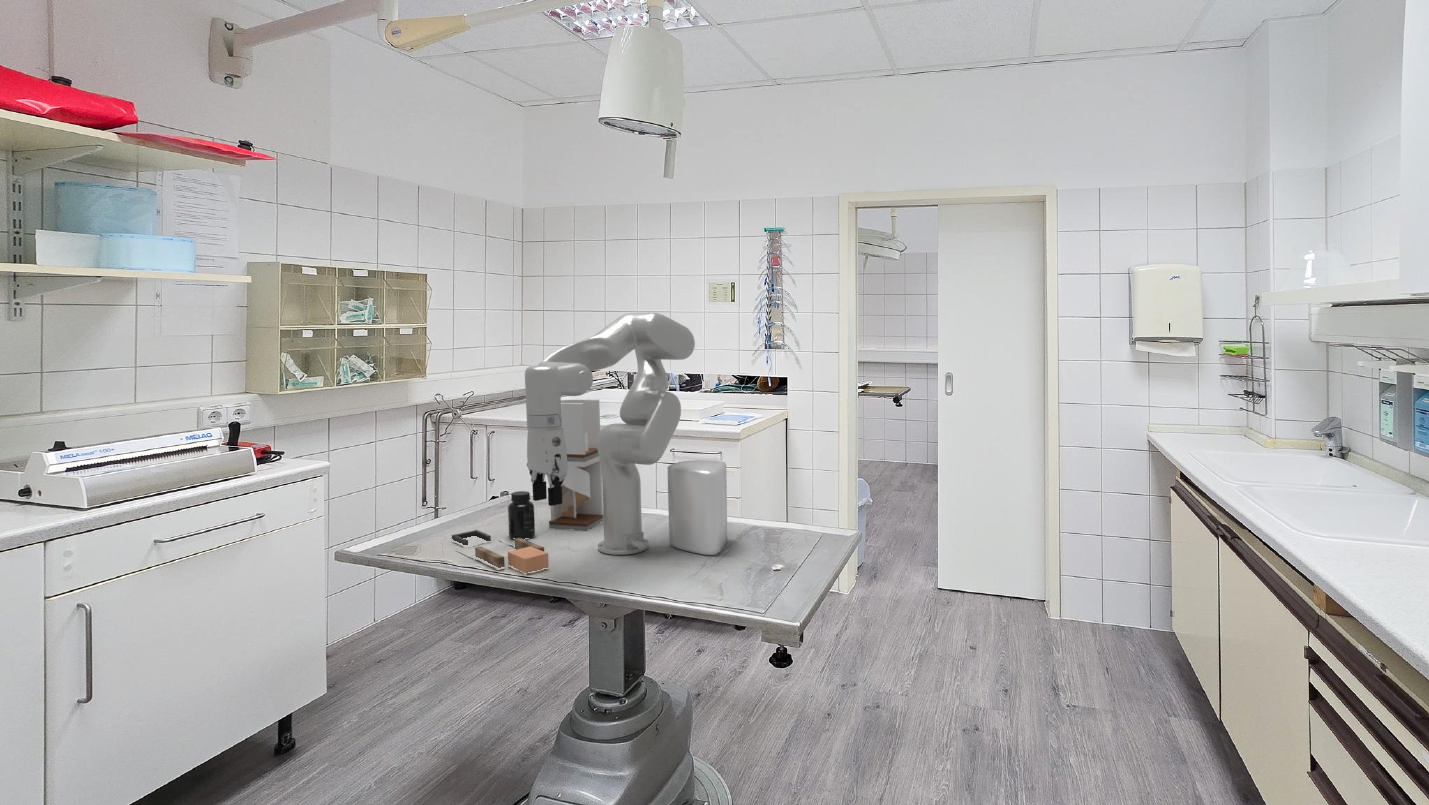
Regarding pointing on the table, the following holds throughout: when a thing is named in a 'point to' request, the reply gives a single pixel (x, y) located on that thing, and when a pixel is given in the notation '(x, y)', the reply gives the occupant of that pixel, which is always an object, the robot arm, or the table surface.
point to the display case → (580, 468)
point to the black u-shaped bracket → (468, 534)
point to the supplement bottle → (521, 516)
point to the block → (528, 559)
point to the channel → (498, 559)
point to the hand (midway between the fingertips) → (547, 501)
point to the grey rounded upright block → (697, 506)
